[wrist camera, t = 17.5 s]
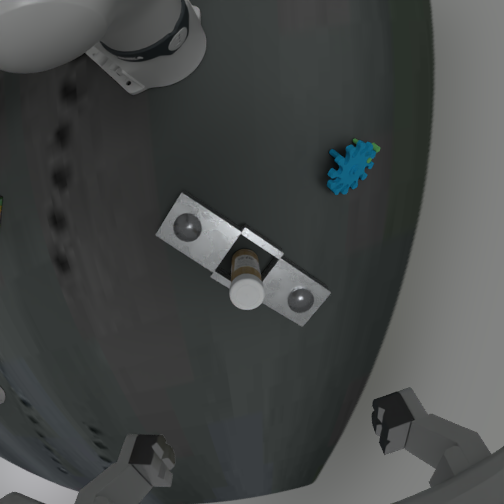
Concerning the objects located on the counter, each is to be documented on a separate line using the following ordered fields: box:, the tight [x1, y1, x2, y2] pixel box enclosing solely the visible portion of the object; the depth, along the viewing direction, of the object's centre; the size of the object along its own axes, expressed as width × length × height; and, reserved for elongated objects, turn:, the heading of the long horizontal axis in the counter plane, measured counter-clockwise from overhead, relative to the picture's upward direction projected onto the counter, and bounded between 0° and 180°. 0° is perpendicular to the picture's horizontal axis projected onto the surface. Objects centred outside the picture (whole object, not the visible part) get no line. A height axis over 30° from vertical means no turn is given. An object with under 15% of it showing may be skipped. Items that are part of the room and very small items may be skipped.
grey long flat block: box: [156, 191, 331, 327], centre depth 49 cm, size 29×10×4 cm, turn 55°
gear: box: [327, 138, 380, 195], centre depth 44 cm, size 11×6×10 cm
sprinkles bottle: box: [229, 249, 265, 310], centre depth 45 cm, size 5×5×13 cm
